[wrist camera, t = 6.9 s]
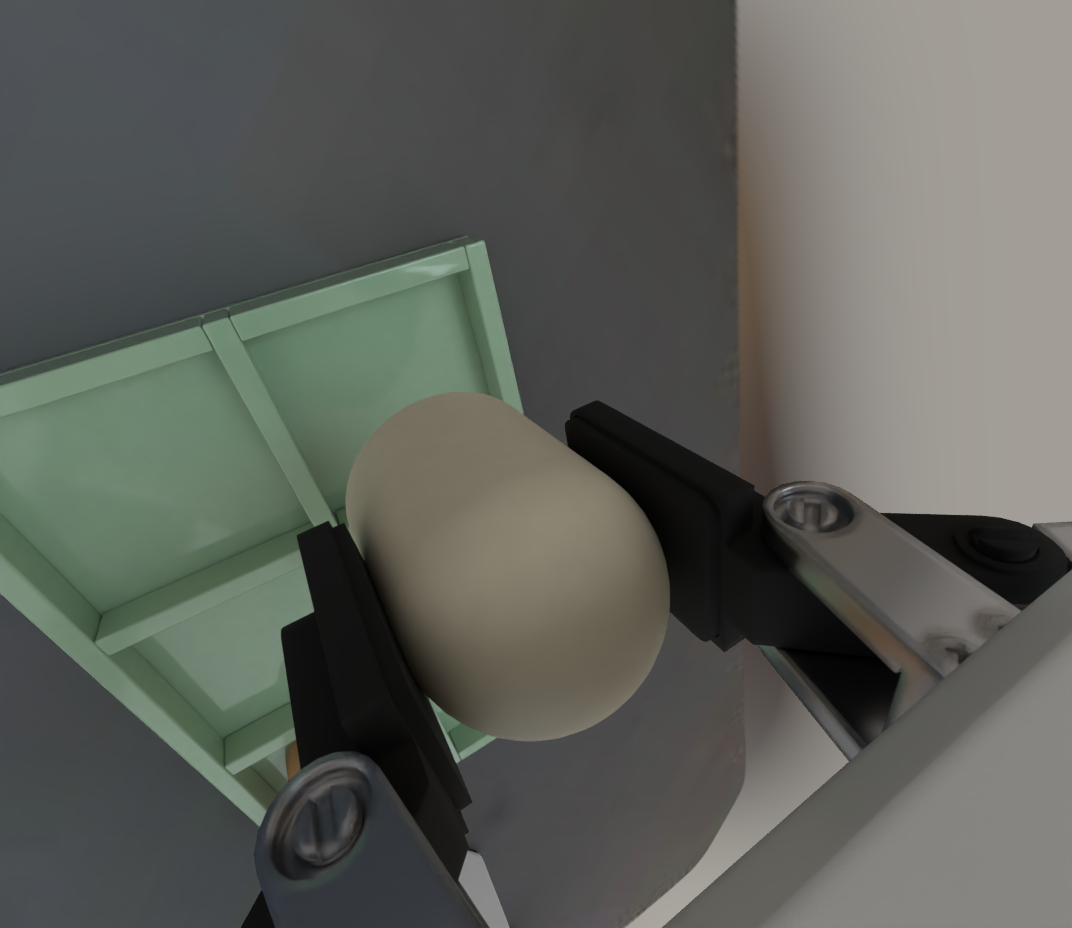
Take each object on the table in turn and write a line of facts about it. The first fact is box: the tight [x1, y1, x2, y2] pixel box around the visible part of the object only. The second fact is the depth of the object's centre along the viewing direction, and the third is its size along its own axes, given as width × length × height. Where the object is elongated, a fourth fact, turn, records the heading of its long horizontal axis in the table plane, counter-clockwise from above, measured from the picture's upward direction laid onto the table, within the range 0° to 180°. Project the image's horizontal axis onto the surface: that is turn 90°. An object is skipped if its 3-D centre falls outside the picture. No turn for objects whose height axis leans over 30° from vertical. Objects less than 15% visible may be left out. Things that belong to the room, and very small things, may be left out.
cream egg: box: [345, 392, 670, 741], centre depth 9 cm, size 4×4×6 cm
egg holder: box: [0, 236, 524, 827], centre depth 18 cm, size 14×20×2 cm
